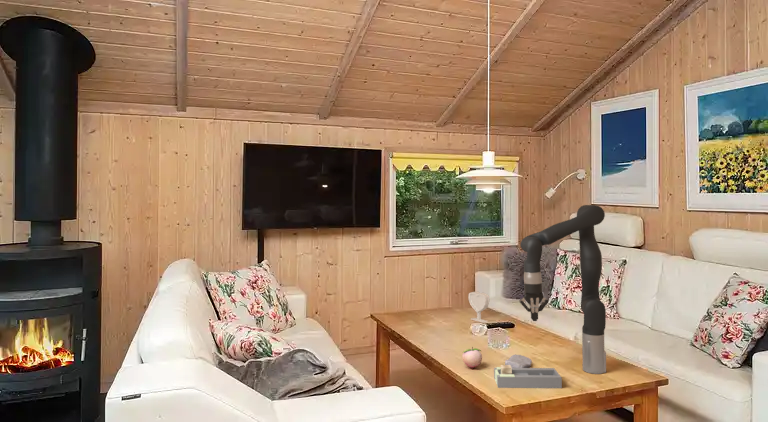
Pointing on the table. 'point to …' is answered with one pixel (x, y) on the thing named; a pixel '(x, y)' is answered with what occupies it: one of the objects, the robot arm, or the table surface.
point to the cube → (506, 369)
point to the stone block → (518, 361)
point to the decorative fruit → (472, 357)
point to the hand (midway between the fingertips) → (534, 320)
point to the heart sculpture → (478, 304)
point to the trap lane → (528, 378)
